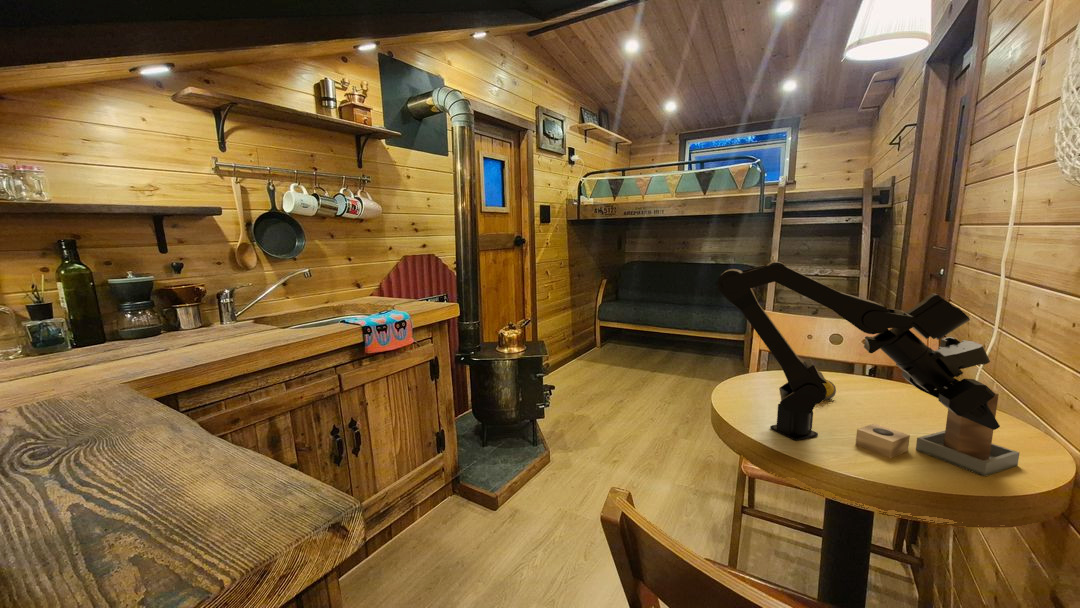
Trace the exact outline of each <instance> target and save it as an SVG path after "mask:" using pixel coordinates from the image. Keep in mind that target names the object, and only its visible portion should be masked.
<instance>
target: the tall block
mask: <svg viewBox="0 0 1080 608" xmlns="http://www.w3.org/2000/svg"><path fill="white" fill-rule="evenodd" d="M951 384H952V383H951ZM953 385H954V384H953ZM992 391H993V390H992ZM993 392H994V393H995V396H994V397H993V398H992V399H991V400H990V401H988V403H987V404H988V407H989V408H990V410H991V412H992V414H993V415H994V417H995V418H996V416H997V415H996V414H997V409H998V401H999V393H997V392H996V391H993ZM944 431H945V437H944V445H943V446H944V447H947V448H950V449H953V450H955V451H958V452H961V453H964V454H966V455H969V456H972V457H975V458H977V459H980V460H983V461H985V460H988V459H989V457H990V450H991V444H993V436H994V430H992V429H990V428H988V427H985V426H983V425H981V424H978V423H976V422H974V421H971V420H969V419H966V418H964V417H961V416H958V415H956V414H955V413H953V412H952V411H950V410H949V409H948V408H947V415H946V423H945V430H944Z"/></svg>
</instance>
